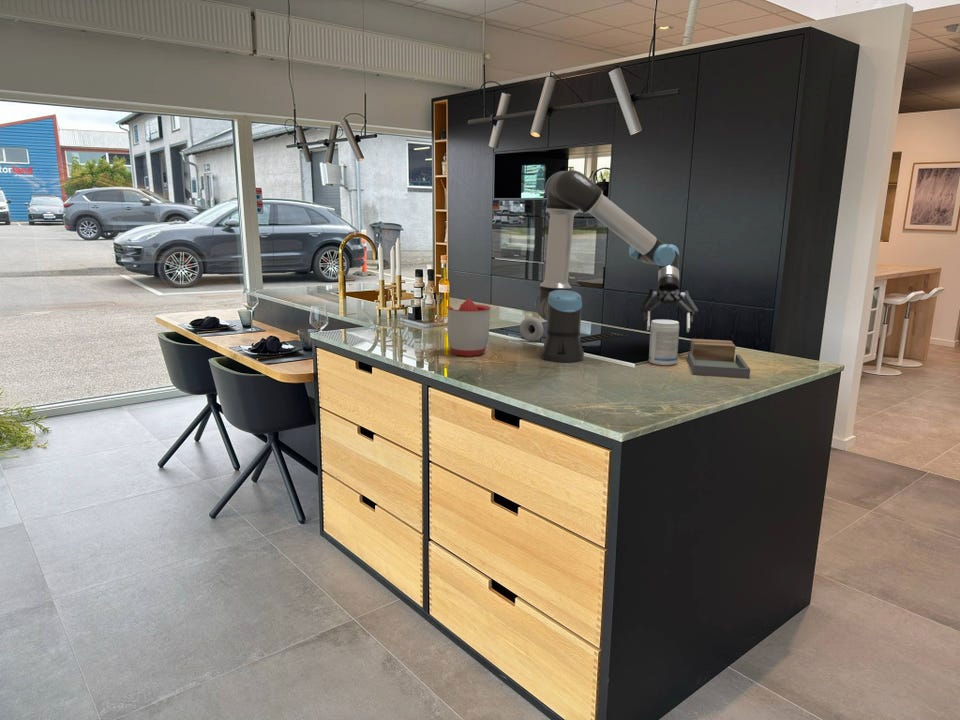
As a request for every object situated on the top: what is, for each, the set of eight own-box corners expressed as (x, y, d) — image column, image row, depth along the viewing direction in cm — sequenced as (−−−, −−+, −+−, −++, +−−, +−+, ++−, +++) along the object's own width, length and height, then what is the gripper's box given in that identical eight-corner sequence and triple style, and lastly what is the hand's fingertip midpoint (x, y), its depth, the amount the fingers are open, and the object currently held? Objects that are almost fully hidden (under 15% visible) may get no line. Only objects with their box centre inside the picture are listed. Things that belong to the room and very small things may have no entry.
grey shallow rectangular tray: (687, 359, 242) (687, 351, 241) (738, 362, 238) (739, 354, 237) (692, 374, 220) (693, 365, 220) (749, 378, 217) (750, 369, 216)
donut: (544, 342, 268) (545, 317, 266) (540, 343, 265) (541, 318, 263) (521, 339, 273) (522, 314, 271) (517, 340, 270) (518, 315, 268)
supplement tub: (682, 364, 235) (686, 322, 231) (663, 367, 230) (667, 324, 226) (660, 358, 243) (664, 318, 239) (642, 361, 238) (645, 320, 234)
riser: (689, 354, 250) (691, 338, 249) (729, 356, 247) (731, 340, 246) (692, 360, 241) (693, 343, 239) (733, 363, 238) (735, 346, 237)
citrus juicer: (465, 346, 257) (466, 294, 253) (498, 354, 245) (499, 299, 241) (434, 352, 247) (434, 297, 242) (467, 360, 235) (467, 303, 230)
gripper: (702, 289, 249) (703, 336, 239) (633, 286, 254) (631, 333, 243) (705, 276, 243) (706, 324, 232) (634, 273, 248) (632, 321, 237)
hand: (668, 329), depth 238 cm, fingers open, 13 cm apart
